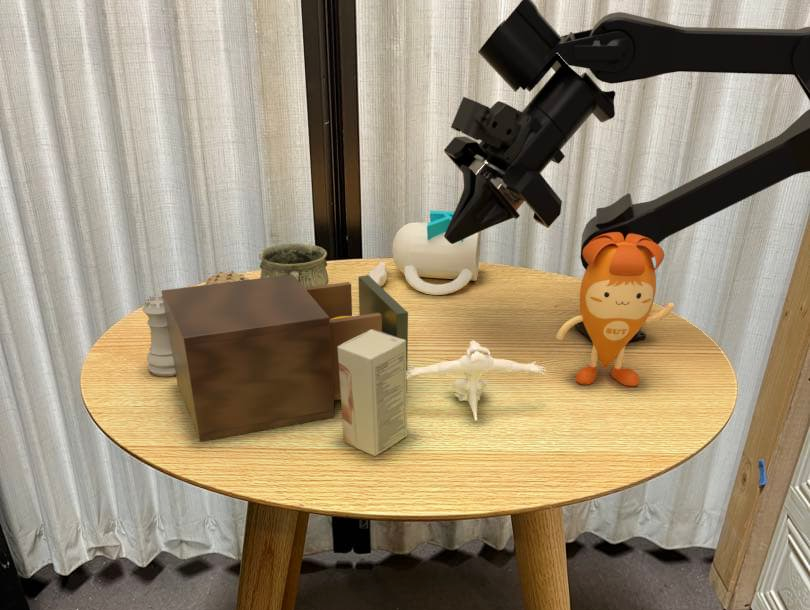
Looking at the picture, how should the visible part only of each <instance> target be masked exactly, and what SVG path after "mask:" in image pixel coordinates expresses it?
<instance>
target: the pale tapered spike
mask: <svg viewBox="0 0 810 610" xmlns="http://www.w3.org/2000/svg"><path fill="white" fill-rule="evenodd" d="M386 267H387V264H386V262H385V261H380V262H379V264H377V265H376V266H375V267H374V268H373V269H371V270H369V271H368V273H367V275H369V276H370V277H371V278H372V279H373V280H374V281H375V282H376V283H377V284H378V285H379V286H380V287H383V286H384V285H385V284H386V282H387V280H388V270H387V268H386Z"/></svg>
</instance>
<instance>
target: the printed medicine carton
mask: <svg viewBox="0 0 810 610" xmlns="http://www.w3.org/2000/svg"><path fill="white" fill-rule="evenodd" d="M338 361H339V377H340V392H341V399H340V404H341V417H342V418H341V420H342V433H343V434H342V435H343V436H342V437H343V442H344V443H345V444H347V445H349V446H350V447H353V448H355V449H358V450H360V451H362V452H365V453H366V454H368V455H371V456H373V457H377V456H378V455H380V454H381V453H383V452H384V451H386V450H387V449H389V448H390V447H393V446H394V445H395V444H397V443H398V442H400V441H401V440H403V439H404V438H406V437H407V436H408V409H407V408H408V404H407V403H408V402H407V401H408V399H407V398H408V397H407V394H408V391H407V392H406V340H404V339H401V338H398V337H394V336H392V335H389V334H386V333H383V332H379V331H376V330H369V331H367V332H365V333H363V334H361V335H359V336H357V337H355V338H353V339H351V340H349V341H347V342H345V343H343V344H341V345H339V346H338Z"/></svg>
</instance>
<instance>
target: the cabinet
mask: <svg viewBox="0 0 810 610" xmlns="http://www.w3.org/2000/svg"><path fill="white" fill-rule="evenodd" d="M161 295H162V296H163V302H164V308H165V314H166V320H167V326H168V332H169V338H170V343H171V349H172V355H173V361H174V367H175V373H176V375H175V377H176V385H177V388H178V391H179V392H180V395H181V398H182V400H183V403H184V405H185V408H186V410H187V413H188V415H189V418H190V420H191V422H192V425H193V428H194V431H195V433H196V435H197V437H198V441H199V442H206V441H210V440H217V439H222V438H227V437H232V436H233V437H234V436H238V435H244V434H249V433H255V432H262V431H265V430H270V429H272V430H273V429H279V428H282V427H289V426H293V425H300V424H306V423H311V422H315V421H316V422H317V421H321V420H322V421H323V420H327V419H333V418H335V405H334V402H335V401H334V400H333V381H332V359H331V338H330V318H329V316H328V315H327V314H326V313H325V312H324V310H323V309H322V308H321V307H320V306H319V305H318V303H317V302H316V301H315V300H314V299H313V297H312V296H311V295H310V294H309V293H308V292H307V290H306V289H305V288H304V287H303V286H302V285H301V283H300V282H299V281H298V280H297V279H296V278H295V276H294V275H293V274H291V275H283V276H275V277H267V278H260V277H259V278H252V279H250V280H242V281H234V282H226V283H218V284H210V285H205V284H203V285H195V286H186V287H178V288H171V289H163V290H161Z"/></svg>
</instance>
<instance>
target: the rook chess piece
mask: <svg viewBox="0 0 810 610" xmlns="http://www.w3.org/2000/svg"><path fill="white" fill-rule="evenodd" d="M157 298H158V299H156V297H155V295H151V296H149V298H148V297H146V298H145V299H144V305H143V307H142V312H143V313H144V314H145V315H146V316H147V318H148V320H147V322H146V323H147V325H148V326H149V329H150V347H149V352H148V354H147V355H146V362H147V363H148V365H147V370H149V372H151V373H152V374H153V375H154V376H158V377H174V376H175V377H176V373H175V367H174V361H173V355H172V349H171V343H170V338H169V332H168V326H167V320H166V314H165V308H164V302H163V296H162V294H159V295H157Z"/></svg>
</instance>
